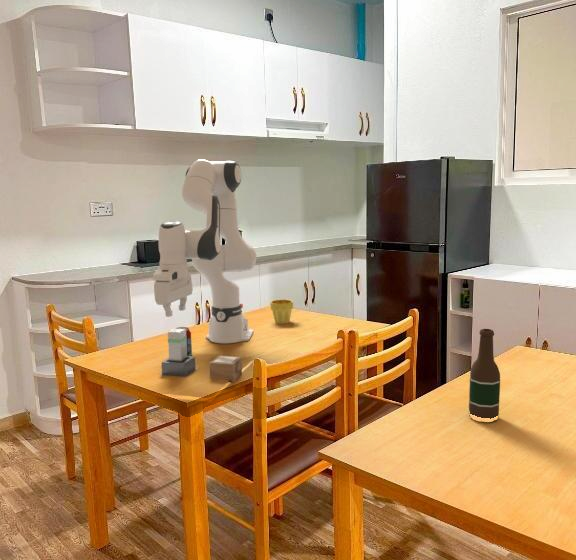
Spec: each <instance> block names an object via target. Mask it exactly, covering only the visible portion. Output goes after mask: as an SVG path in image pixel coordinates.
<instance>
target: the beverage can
mask: <svg viewBox="0 0 576 560" xmlns="http://www.w3.org/2000/svg"><path fill="white" fill-rule="evenodd" d="M174 329H186V336H187V340H186V341H187V356H193V349H192V346H193V345H192V332H191V330H190V328H189V327H186V326H179V327H176V328H174Z"/></svg>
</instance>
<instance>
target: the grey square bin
mask: <svg viewBox="0 0 576 560" xmlns="http://www.w3.org/2000/svg"><path fill="white" fill-rule="evenodd" d="M199 368H200V367H199V366H196V357H195V356H193V355H192V356H187V360H186V361H185V362H183V363H178V362H169V357H168V358H165V360H163V361H161V372H160V373H159V374H158V375H159V376H170V377H171V376H172V377H183V378H187V377H188V376H189V375H191V374H192V373H193V372H195V371H196V370H197V369H199Z"/></svg>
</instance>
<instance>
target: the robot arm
mask: <svg viewBox="0 0 576 560" xmlns="http://www.w3.org/2000/svg"><path fill="white" fill-rule="evenodd" d="M186 169H187V170H186V171H185V178H184V182H183V184H182V190H181V197H182V199H183V201H184V202H185V204H186V205H187V206H188V207H190V208H191V209H193V210H195V211H197V212H202V213H204V214H206V224H205V225H206V227H205V228H204V229H201V230H187V229H185V227H184V223H183V222H181V221H176V220H175V221H174V220H171V221H166V222H163V223H162V224H160V225H159V230H158V251H159V256H160V257H159V258H160V259H159V267H158V268H157V269H156V271H154V272H153V274H152V280H153V281H155V282H154V283H153V291H154V293H153V294H154V301H155V303H156V305H158V306H160V305H161V306H162V307H163V309H164V311H165V317H168V318H169V317H172V316H173V310H172V308H171V307H172V303H174V302H176V301H178V300H179V305H178V311H185V310H186V304H187V300H188V296H191V295H192V294H193V281H192V276H191V274H190V271H189V270H188V260H191V263H192V266H193V268H194V269H195V270H196V271H198V273H200V274H201V275H202V276H203V277H204V278H205V279H206V281H207V282H208V284H209V287H210V290H211V291H210V293H211V301H212V305H211V310H210V311H211V315H212V316H211V317H210V318H209V319H208V334H207V335H205V339H207V340H209V341H210V342H211V343H216V344H234V343H239V342H247V341H250V339H251V337H252V336H253V334H254V329H252V328H249V323H248V319H247V318H246V317H245V316H244V314H242V313H243V310H242V309H243V307H244V304H243V303H240V287H239V286H238V284H237V283H235V281H232V280H231V279H228V278H226V277H225V276H224V273H231V272H232V273H233V272H234V273H236V272H237V273H238V272H245V271H246V272H247V271H250V270H252V269H253V268H254V267H255V266H256V263H257V253H256V251H255V249H254V248H253V247H252V245H250V244H248V243H247V241H245V239H244V238H243V237H242V235H241V233H240V231H239V224H238V215H237V214H238V213H237V211H238V210H237V199H236V194H235V191H236V190H237V188H238V187H239V186H240V184H241V182H242V171H241V167H240V165H239V163H238V162H237V161H233V160H226V161H222V160H221V161H217V160H216V161H209V160H206V159H197V160H195V161H194V162H193V163H192V164H191V165H190V166H189V167H188V168H186ZM221 239H224V241H225V244H221Z"/></svg>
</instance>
